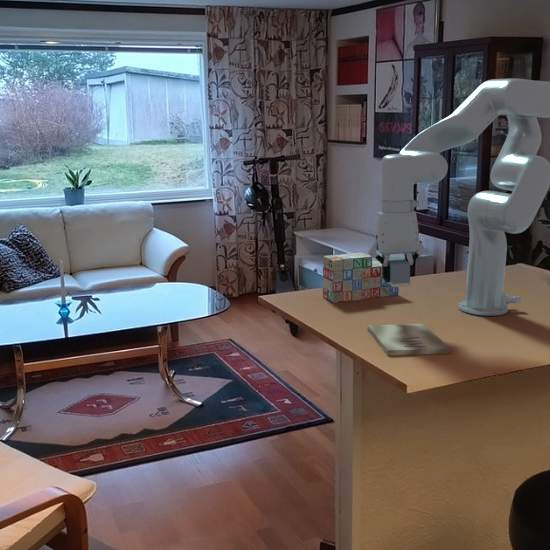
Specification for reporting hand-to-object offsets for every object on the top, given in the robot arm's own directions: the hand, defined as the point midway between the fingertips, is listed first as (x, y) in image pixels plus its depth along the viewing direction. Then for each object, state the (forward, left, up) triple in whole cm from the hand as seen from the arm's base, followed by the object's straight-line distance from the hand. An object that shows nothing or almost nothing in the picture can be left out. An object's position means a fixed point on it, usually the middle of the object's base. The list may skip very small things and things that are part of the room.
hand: (396, 279), depth 173 cm
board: (+1, +13, -11) cm, 18 cm away
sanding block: (0, 0, -1) cm, 1 cm away
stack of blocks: (+2, -26, -12) cm, 29 cm away
